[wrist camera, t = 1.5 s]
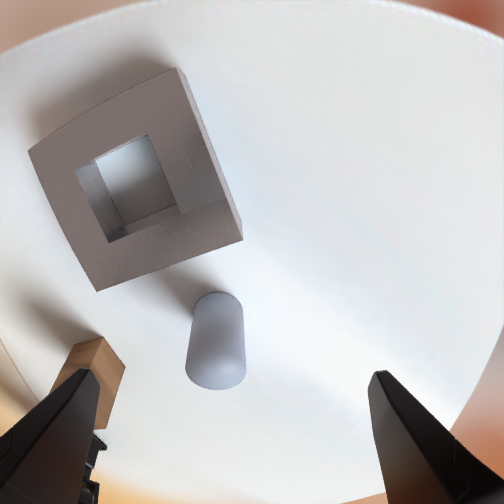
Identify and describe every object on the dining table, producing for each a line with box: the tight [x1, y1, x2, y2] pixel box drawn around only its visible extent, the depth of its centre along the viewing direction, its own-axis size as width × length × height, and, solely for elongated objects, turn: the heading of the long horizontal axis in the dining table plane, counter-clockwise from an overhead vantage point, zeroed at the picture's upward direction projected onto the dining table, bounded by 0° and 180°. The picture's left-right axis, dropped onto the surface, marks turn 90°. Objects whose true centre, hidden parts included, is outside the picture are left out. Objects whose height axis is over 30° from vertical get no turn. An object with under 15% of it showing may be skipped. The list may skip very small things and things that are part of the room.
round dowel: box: [185, 292, 246, 390], centre depth 21 cm, size 4×4×6 cm
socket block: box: [28, 68, 243, 292], centre depth 18 cm, size 10×10×3 cm
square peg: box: [49, 337, 125, 430], centre depth 22 cm, size 4×4×7 cm
